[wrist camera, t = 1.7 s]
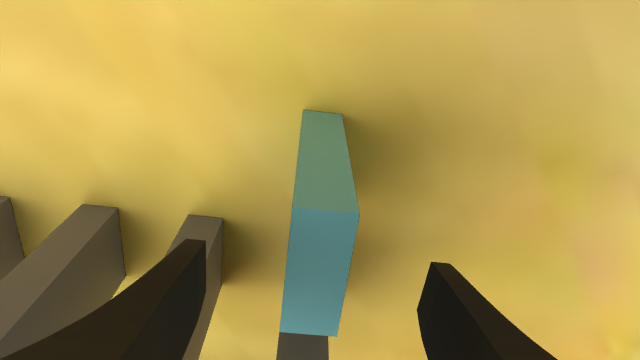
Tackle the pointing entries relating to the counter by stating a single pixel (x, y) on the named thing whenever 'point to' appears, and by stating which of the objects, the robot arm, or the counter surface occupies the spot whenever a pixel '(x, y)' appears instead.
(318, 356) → the domino
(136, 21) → the counter surface
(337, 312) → the teal domino
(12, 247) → the domino
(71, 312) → the domino
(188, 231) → the domino
